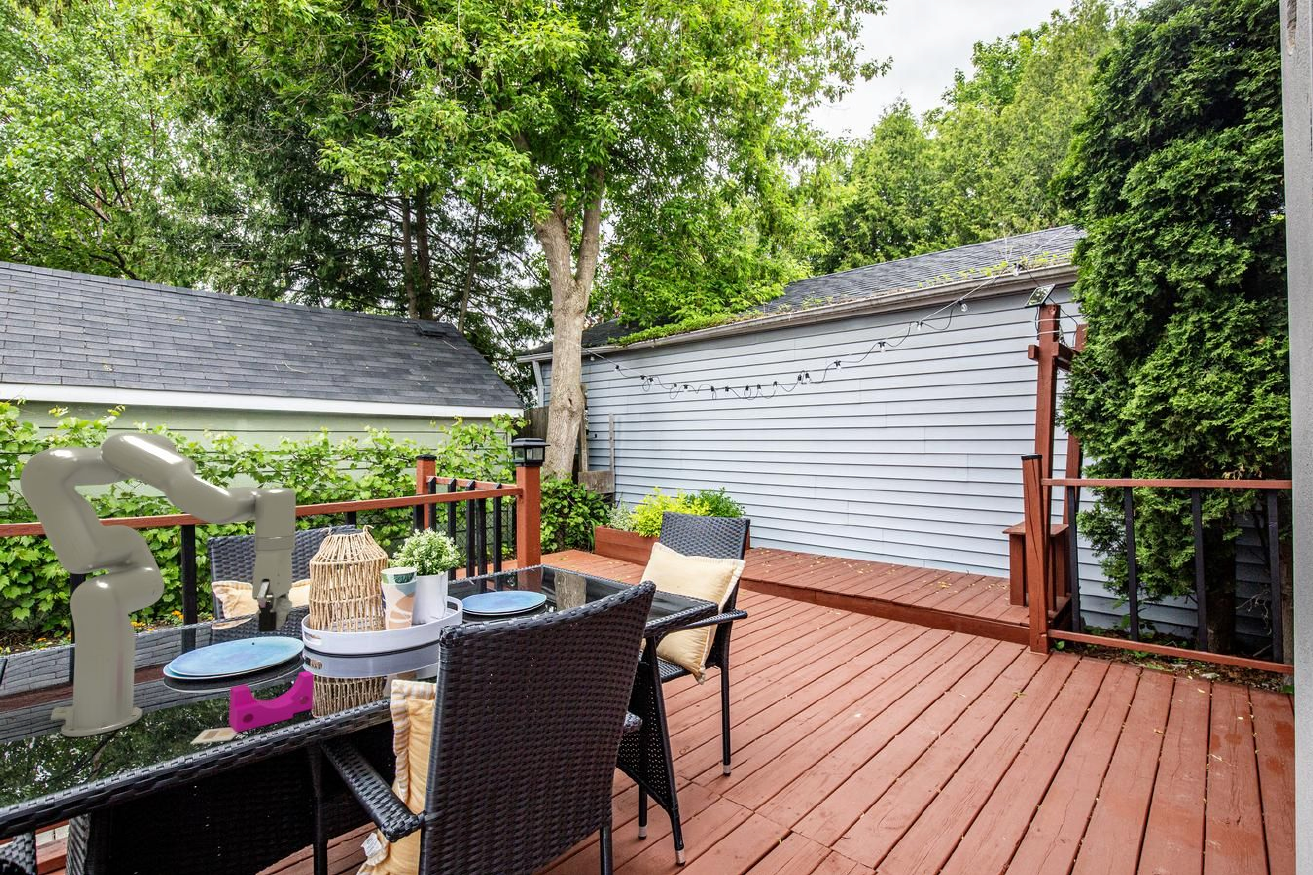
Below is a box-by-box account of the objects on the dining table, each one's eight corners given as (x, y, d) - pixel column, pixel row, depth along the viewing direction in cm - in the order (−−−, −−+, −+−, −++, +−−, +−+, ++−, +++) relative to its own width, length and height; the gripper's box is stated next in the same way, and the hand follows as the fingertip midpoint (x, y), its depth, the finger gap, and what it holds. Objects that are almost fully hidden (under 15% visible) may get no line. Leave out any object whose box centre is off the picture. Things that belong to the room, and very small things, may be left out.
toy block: (236, 732, 122) (237, 695, 123) (228, 723, 127) (230, 687, 127) (316, 711, 133) (317, 677, 134) (307, 703, 138) (308, 670, 138)
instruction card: (190, 744, 118) (190, 742, 118) (204, 730, 124) (204, 729, 124) (230, 739, 120) (230, 738, 120) (243, 727, 126) (243, 725, 126)
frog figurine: (297, 628, 132) (297, 596, 132) (262, 636, 126) (262, 603, 126) (284, 624, 135) (285, 593, 136) (249, 631, 129) (250, 599, 130)
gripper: (270, 540, 139) (269, 617, 138) (238, 550, 122) (237, 639, 121) (306, 538, 141) (305, 615, 140) (279, 549, 124) (278, 636, 123)
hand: (273, 625), depth 131 cm, fingers closed on frog figurine, 6 cm apart
